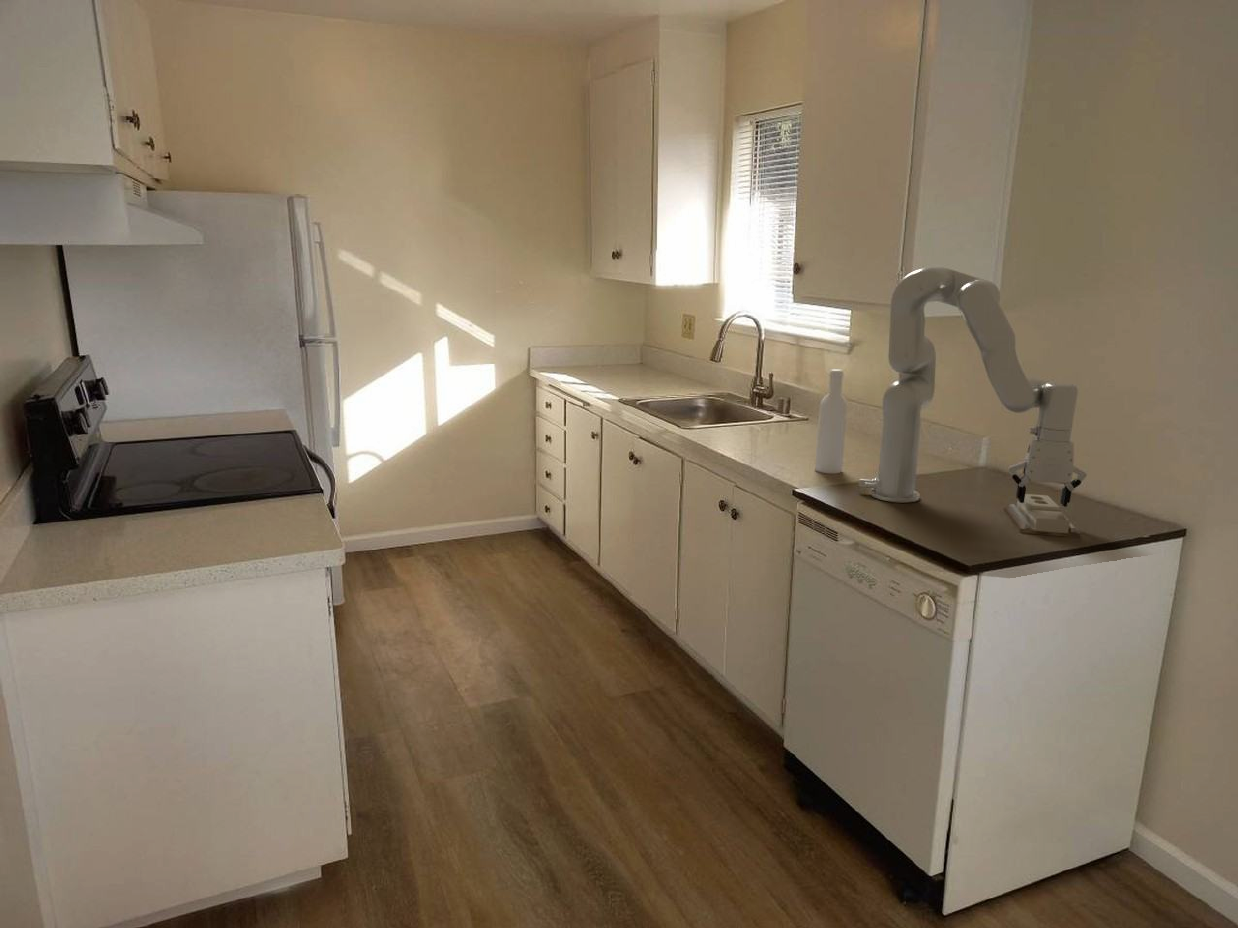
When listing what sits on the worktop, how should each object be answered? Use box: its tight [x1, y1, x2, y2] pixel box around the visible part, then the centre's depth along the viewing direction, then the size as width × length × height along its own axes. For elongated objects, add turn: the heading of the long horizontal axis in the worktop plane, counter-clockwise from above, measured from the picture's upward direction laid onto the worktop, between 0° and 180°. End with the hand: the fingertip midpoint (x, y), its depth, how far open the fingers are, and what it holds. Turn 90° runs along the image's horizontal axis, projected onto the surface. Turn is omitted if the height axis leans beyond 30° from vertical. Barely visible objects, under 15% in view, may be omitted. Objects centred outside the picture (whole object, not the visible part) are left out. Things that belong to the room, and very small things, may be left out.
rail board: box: [1003, 503, 1081, 538], centre depth 210 cm, size 13×18×2 cm
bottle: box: [814, 368, 849, 475], centre depth 252 cm, size 8×8×30 cm
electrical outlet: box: [1016, 493, 1071, 533], centre depth 209 cm, size 7×4×18 cm
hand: (1042, 503), depth 209 cm, fingers open, 9 cm apart
